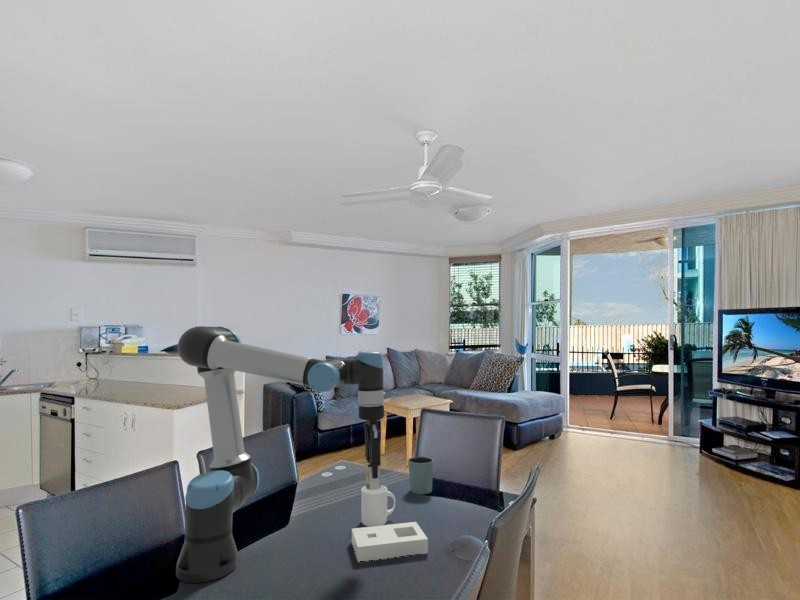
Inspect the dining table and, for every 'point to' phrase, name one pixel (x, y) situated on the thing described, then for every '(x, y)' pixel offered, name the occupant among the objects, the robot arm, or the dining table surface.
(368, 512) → the mug
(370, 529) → the block
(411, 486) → the grey-green cup
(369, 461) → the cylinder
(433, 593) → the dining table surface
